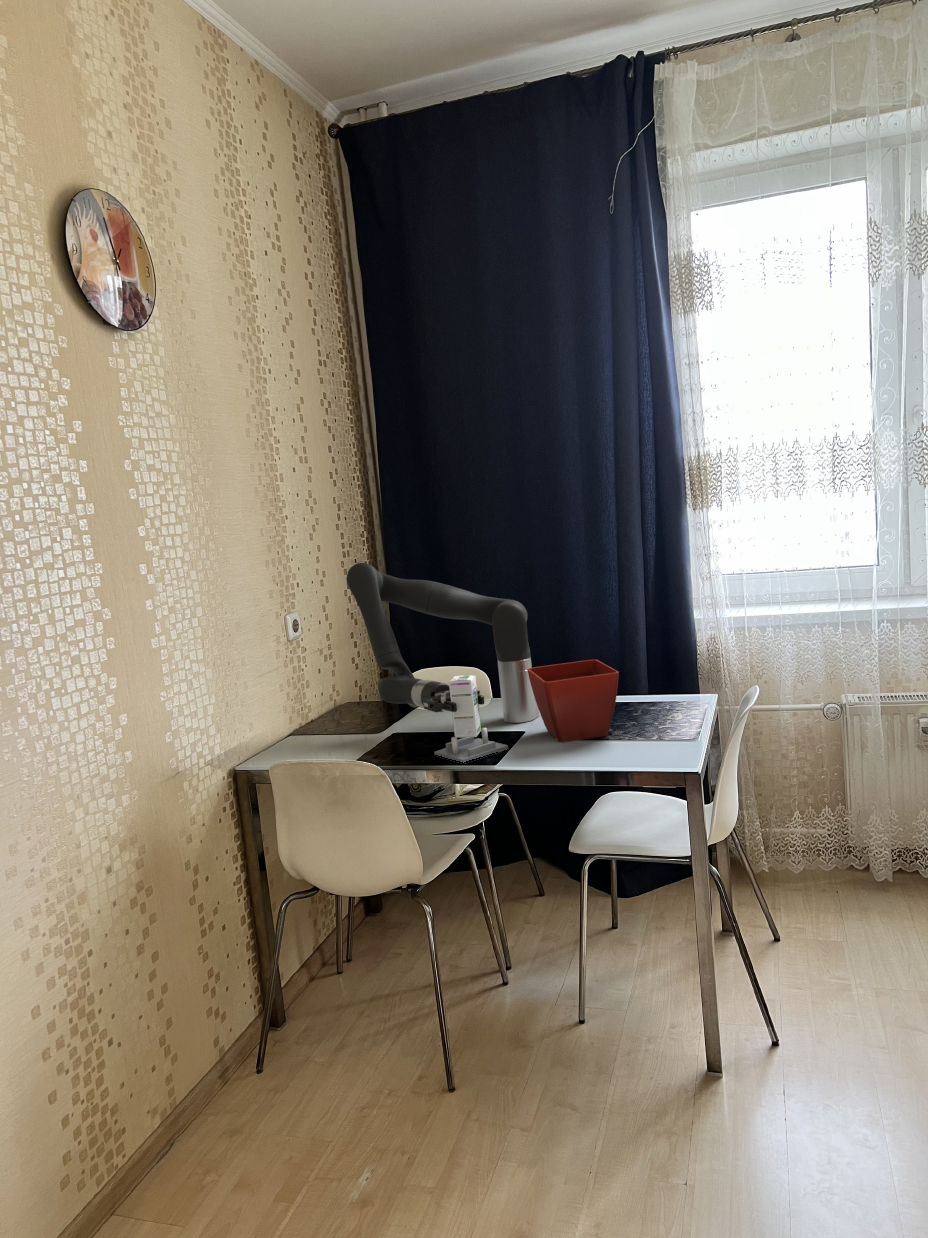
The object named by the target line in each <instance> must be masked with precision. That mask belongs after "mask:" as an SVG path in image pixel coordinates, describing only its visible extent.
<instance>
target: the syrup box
mask: <svg viewBox="0 0 928 1238" xmlns="http://www.w3.org/2000/svg"><path fill="white" fill-rule="evenodd" d="M448 685H449V687H450V697H451V702H454V703H456V705H457V711H456V712H451V713H452V721H453V731H454V737H457V738H460V739H462V738H466V737H473V738H478V736H479V734H480V732H482V731H481V729H482V725H481V716H480V715H481V714H480V704H478V695H477V690H478V686H477V677H476V675H475V674H462V675H454V676H453V677H452V678H451V679H450V681H448Z"/></svg>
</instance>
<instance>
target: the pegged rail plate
mask: <svg viewBox="0 0 928 1238" xmlns="http://www.w3.org/2000/svg"><path fill="white" fill-rule="evenodd" d="M480 732H481V738H479V737H476V738H474V737H463V738H460V739H458V737H455V736H452V737H451V741H450V742H446V743H445V747H444V748H442V749H439V750H436V751H434V756H435V755H438V756H442V757H445V758H448V759H452V760H456V761H460V762H463V763H464V762H466V761H469V760H472V759H476V758H479V757H483V756H486V755H489V754H492V753H495V754H497V753H496V752H498V753H502V752H503V751H504V750H505V751H507V749H508V750H509V745H507V744H503V743H500V742H496V741H491V740H489V737H488V728H487V727H481V731H480ZM492 755H493V754H492ZM438 756H437V757H438ZM489 756H490V755H489ZM486 757H487V756H486ZM445 758H444V759H445ZM483 758H484V757H483ZM448 759H447V760H448ZM452 760H451V761H452Z"/></svg>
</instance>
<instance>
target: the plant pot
mask: <svg viewBox="0 0 928 1238" xmlns="http://www.w3.org/2000/svg"><path fill="white" fill-rule="evenodd" d="M527 670H528V675H529V679H530V683H531V687H532V690H533V694H534V697H535V700H536V703H537V706H538V709H539V715H540V717H541V719H542V722H543V724H544V726H545V729H546V731H547V732H548V733H549V734H550V735H551V736H552V737H553V738H554V739H555V740H556V741H557V742H558V743H567V742H568V743H569V742H575V741H580V740H581V741H582V740H590V739H595V737H596V738H602V737H607V736H608V734H609V730H610V728H611V725H612V721H613V717H614V712H615V707H616V703H617V694H618V689H619V688H618V687H619V686H618V685H619V676H620V673H619V672H620V671H618V670H616V669H615V668H613V667H611V666H609V665H607V664H605V663H603V662H602V661H600V660H599V659H588V660H587V659H585V660H579V661H573V662H565V663H557V664H550V665H542V666H535V667H532V668H529V669H527Z"/></svg>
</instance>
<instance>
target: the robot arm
mask: <svg viewBox="0 0 928 1238" xmlns="http://www.w3.org/2000/svg"><path fill="white" fill-rule="evenodd" d="M345 579H346V585H347V588H348V589H349V591H350V592H351V594H352V596H353V598H354V599H355V601H356V603H357V606H358V607H359V610H360V613H361V616H362V619H363V621H364V622H363V623H364V624H365V628H366V631H367V632H366V633H367V635H368V636H367V637H368V638H369V639H368V640H369V643H370V646H371V648H372V649H371V650H372V653H373V656H374V658H375V662H376V665H377V667H378V668H379V669H380V670H390V671H391V672H392V673H393V675H389V676H385V677H383V678H382V679H381V680H380V681H379V683H378V687H377V690H378V691H377V692H378V695H379V696H380V698H381V699H382V701H384V702H386V703H389V704H397V705H398V704H399V705H400V704H409V705H410V704H411V705H413V706H417V707H420V708H422V709H424V710H427V711H430V712H433V713H443V712H445V711H447V712H451V713H452V712H456V711H457V705H456V703H454V702H451V697H450V687H449V684H447V683H445V682H441V681H436V680H429V679H422V678H421V679H420V678H416V677H415V676H414V673H413V672H412V671H411V670H410V668H409V667H408V664H407V663H406V662H405V660H404V658H403V657H402V655H401V651H400V648H399V646H398V645H399V644H398V642H397V639H396V636H395V634H394V631H393V628H392V626H391V624H390V622H389V619H388V618H387V614H386V611H385V609H384V606H383V603H382V602H385V603H390V604H395V605H399V606H402V607H403V608H408V609H409V610H410V609H411V610H412V611H416V612H418V613H419V612H420V613H423V614H425V615H426V614H427V615H430V616H433V617H434V616H435V617H438V618H443V619H451V620H465V621H466V620H469V621H477V622H480V623H484V624H488V625H490V626H492V633H493V641H494V649H495V653H496V659H497V668H498V677H499V686H500V687H499V688H500V698H501V707H502V716H503V717H502V718H503V721H504V722H506V723H509V724H510V723H513V724H514V723H515V724H516V723H526V722H527V723H528V722H530V721H533V720H536V718H538V717H540V712H539V709H538V706H537V703H536V700H535V697H534V694H533V690H532V687H531V683H530V679H529V675H528V670H527V669H529V668H533V667H532V659H531V658H532V657H531V656H532V655H531V649H530V646H529V645H530V644H529V637H528V628H527V621H528V611H527V609H526V607H525V606H524V605H523V604H522V603H521V602H519V601H517V600H514V599H509V598H498V597H492V596H486V595H482V594H478V593H475V592H473V591H469V590H466V589H463V588H459V587H456V586H453V585H449V584H444V583H441V582H437V581H434V580H433V581H432V580H426V579H425V580H424V579H406V578H399V577H395V576H392V575H390V574H386V573H383V572H380V571H378V570H377V569H376V568H375V566H373V565H371V564H369V563H366V562H357V563H355V564H354V565H352V566H351V567H350V568H349V569H348V571H347V573H346V578H345ZM477 695H478V704H479V706H480V705H485V696H484V695H482V694H481V690H479V689H477Z"/></svg>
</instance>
